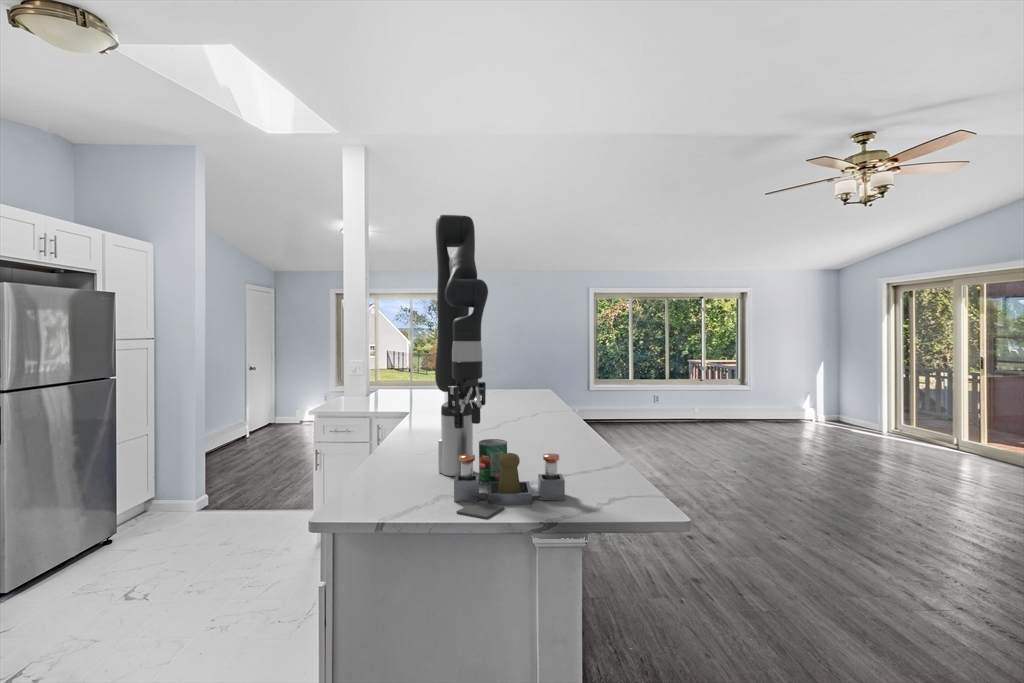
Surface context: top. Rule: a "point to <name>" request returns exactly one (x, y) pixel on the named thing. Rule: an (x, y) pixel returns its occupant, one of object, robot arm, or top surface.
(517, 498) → the housing
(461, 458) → the plunger
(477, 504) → the pad
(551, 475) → the plunger
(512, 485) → the cork
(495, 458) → the canned tomato
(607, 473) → the top surface
